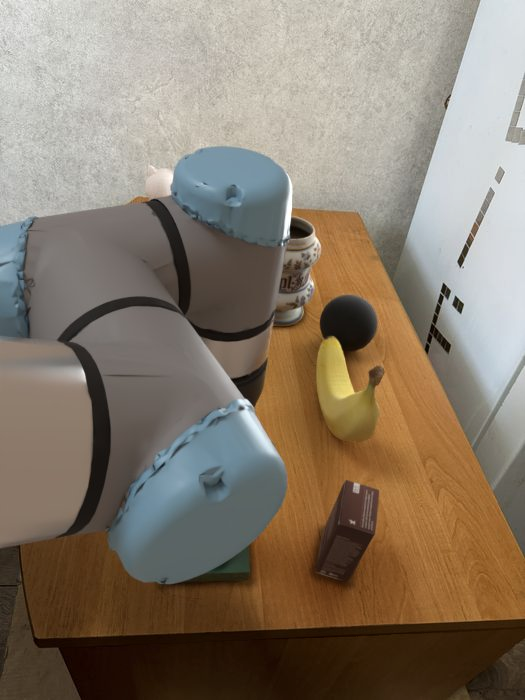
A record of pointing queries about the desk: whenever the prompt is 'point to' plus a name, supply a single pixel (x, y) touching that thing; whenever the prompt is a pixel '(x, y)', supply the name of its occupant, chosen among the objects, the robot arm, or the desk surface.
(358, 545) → the box
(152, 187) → the cat figurine
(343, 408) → the banana
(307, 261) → the apothecary jar
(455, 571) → the desk surface
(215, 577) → the button box
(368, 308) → the decorative ball
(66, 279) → the robot arm
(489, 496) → the desk surface
